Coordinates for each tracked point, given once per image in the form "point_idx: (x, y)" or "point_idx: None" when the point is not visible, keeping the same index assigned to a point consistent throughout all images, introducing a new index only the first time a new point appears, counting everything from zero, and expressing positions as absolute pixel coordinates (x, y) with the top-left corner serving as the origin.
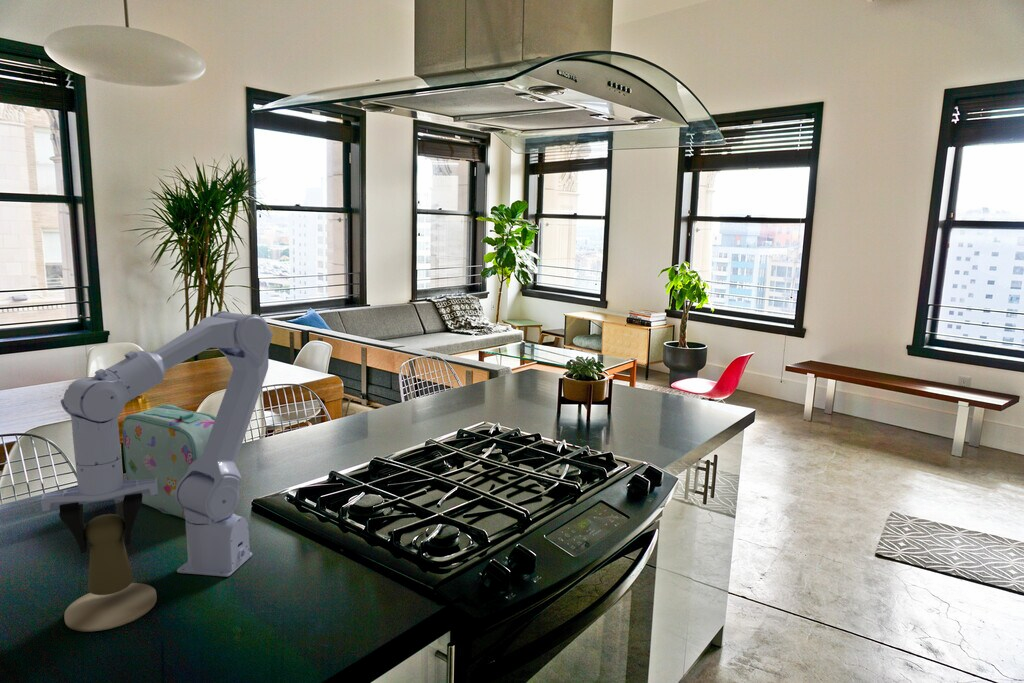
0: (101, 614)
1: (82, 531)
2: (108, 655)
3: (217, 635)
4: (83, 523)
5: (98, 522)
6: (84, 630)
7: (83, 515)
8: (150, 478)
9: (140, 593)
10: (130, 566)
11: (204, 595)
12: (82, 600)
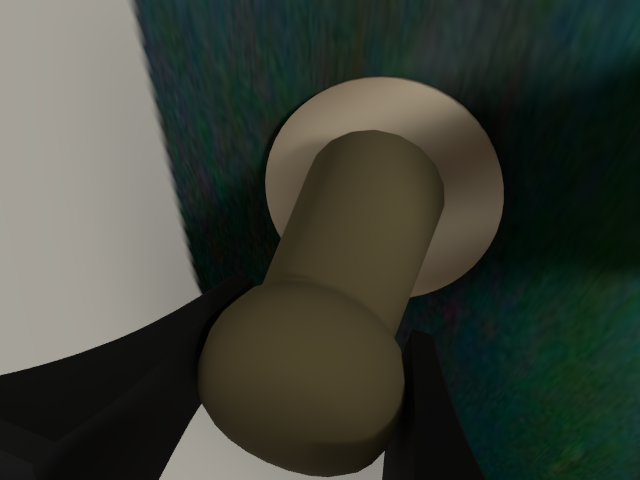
0: None
1: (192, 399)
2: None
3: (529, 441)
4: (177, 370)
5: (248, 448)
6: None
7: (148, 377)
8: None
9: (457, 202)
10: (434, 231)
11: (612, 299)
12: (306, 131)
